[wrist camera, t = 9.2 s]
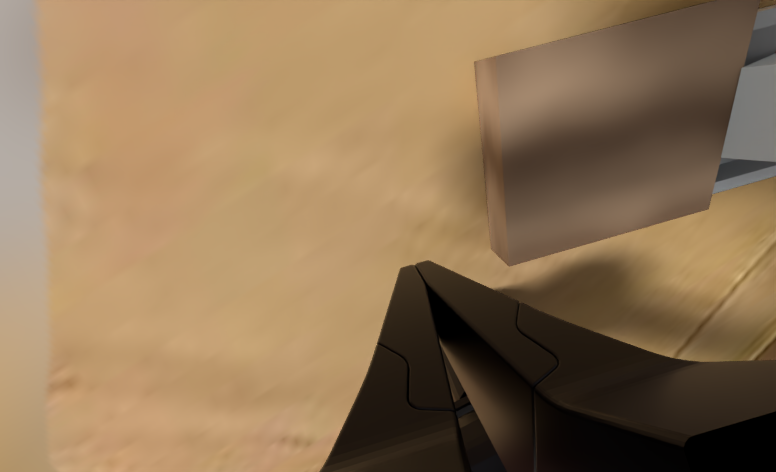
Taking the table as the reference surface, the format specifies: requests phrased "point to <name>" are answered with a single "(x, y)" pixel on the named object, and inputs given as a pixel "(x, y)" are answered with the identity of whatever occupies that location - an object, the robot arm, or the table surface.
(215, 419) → the table surface
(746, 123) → the white block
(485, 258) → the table surface
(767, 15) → the tray
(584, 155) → the walnut board
